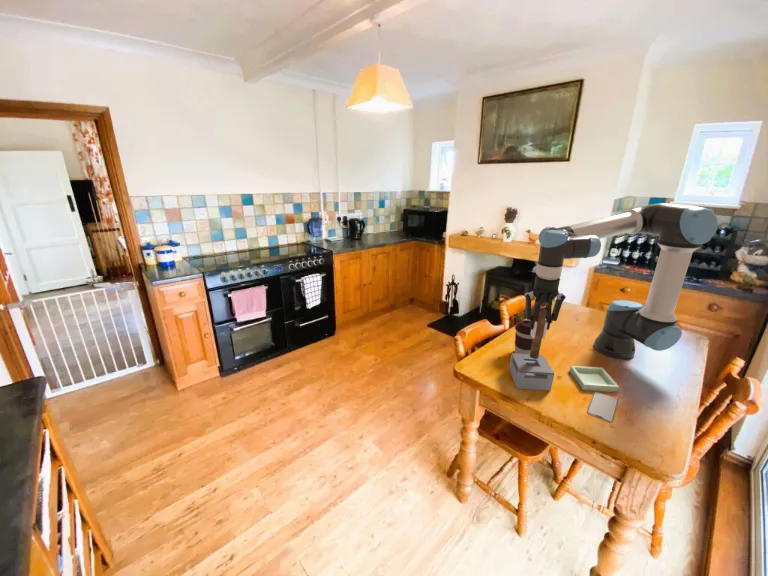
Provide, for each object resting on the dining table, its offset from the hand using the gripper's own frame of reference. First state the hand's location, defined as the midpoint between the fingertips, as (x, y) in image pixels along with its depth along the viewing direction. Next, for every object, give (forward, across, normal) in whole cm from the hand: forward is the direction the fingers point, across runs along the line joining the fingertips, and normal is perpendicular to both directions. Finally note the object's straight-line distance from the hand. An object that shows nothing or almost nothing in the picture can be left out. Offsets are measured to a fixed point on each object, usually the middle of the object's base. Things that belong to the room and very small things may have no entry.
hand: (537, 336), depth 118 cm
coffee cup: (+19, -2, -19) cm, 27 cm away
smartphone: (+20, -20, +12) cm, 31 cm away
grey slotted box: (+19, 0, 0) cm, 19 cm away
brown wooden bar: (+9, 0, 0) cm, 9 cm away
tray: (+19, -24, -2) cm, 30 cm away
